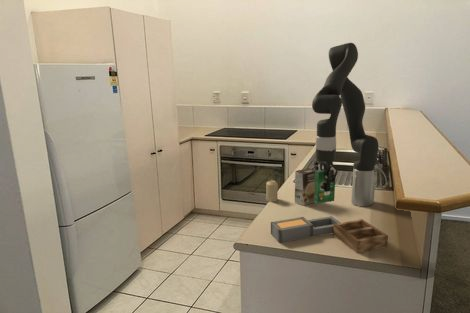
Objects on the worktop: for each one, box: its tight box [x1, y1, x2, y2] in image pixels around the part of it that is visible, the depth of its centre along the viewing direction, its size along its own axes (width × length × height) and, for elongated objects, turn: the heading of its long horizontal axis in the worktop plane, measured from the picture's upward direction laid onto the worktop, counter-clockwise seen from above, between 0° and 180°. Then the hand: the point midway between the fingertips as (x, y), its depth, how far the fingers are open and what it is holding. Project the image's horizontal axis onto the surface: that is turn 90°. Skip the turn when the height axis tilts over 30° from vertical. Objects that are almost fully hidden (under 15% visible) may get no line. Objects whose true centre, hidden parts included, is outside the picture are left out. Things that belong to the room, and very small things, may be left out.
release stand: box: [270, 215, 342, 243], centre depth 141 cm, size 28×8×5 cm, turn 107°
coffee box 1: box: [294, 167, 315, 207], centre depth 171 cm, size 9×6×16 cm
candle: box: [265, 179, 279, 202], centre depth 176 cm, size 6×6×10 cm
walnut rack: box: [332, 218, 389, 254], centre depth 134 cm, size 13×15×4 cm
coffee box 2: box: [314, 170, 336, 205], centre depth 139 cm, size 8×3×13 cm, turn 109°
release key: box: [276, 219, 307, 229], centre depth 140 cm, size 11×5×4 cm, turn 107°
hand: (324, 189), depth 140 cm, fingers closed on coffee box 2, 3 cm apart
